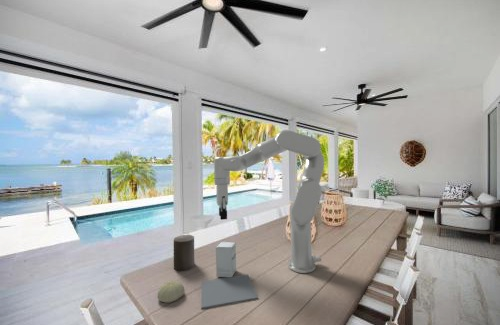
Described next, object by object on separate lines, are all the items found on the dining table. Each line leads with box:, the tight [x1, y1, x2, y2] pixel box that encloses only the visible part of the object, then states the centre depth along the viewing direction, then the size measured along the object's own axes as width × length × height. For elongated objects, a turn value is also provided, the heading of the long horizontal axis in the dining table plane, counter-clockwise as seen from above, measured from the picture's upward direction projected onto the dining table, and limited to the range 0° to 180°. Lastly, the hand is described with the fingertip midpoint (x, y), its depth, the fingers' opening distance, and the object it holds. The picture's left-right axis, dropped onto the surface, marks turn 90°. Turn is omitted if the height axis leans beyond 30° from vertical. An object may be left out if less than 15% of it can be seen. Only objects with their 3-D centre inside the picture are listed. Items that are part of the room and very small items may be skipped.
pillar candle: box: [173, 234, 195, 272], centre depth 101 cm, size 10×10×15 cm
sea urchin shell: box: [157, 280, 185, 304], centre depth 78 cm, size 9×8×8 cm
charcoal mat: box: [200, 274, 259, 310], centre depth 80 cm, size 20×16×1 cm
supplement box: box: [215, 241, 237, 278], centre depth 93 cm, size 7×7×13 cm
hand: (223, 217), depth 103 cm, fingers open, 6 cm apart
